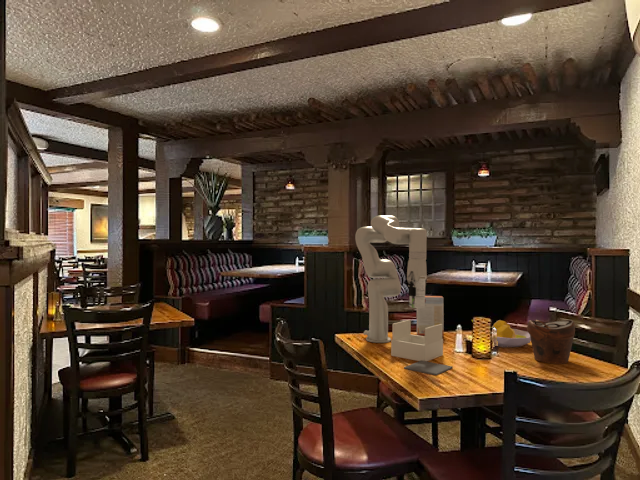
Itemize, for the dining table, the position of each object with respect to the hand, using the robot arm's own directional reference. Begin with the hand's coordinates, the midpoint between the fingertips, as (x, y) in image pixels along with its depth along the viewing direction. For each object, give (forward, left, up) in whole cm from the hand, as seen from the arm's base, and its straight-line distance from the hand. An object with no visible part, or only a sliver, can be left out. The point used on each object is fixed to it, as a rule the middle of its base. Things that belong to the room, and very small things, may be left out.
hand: (417, 295), depth 209 cm
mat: (+14, -16, -27) cm, 34 cm away
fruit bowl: (+20, +49, -27) cm, 60 cm away
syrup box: (0, 0, -6) cm, 6 cm away
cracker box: (-18, +46, -27) cm, 56 cm away
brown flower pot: (+47, +31, -27) cm, 63 cm away
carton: (0, 0, -27) cm, 27 cm away
